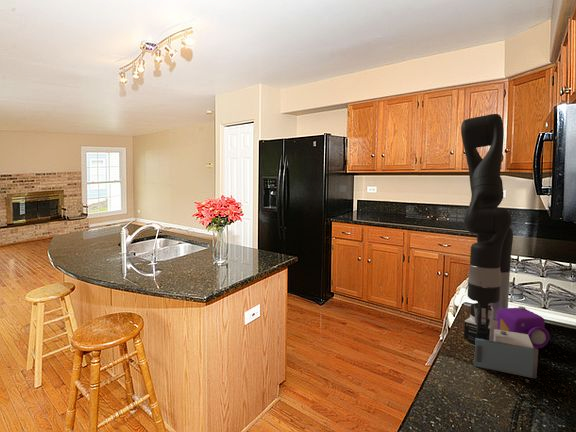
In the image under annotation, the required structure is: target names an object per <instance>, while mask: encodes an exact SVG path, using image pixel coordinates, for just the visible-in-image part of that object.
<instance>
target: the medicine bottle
mask: <svg viewBox="0 0 576 432" xmlns="http://www.w3.org/2000/svg"><path fill="white" fill-rule="evenodd" d="M477 303H478V302H475V304H477ZM491 309H492V314H491V316H490V325H489V327H488V333H486V340H490V341H493V340H494V329H497V330H498V321H497V320H496V319H493V310H494V309H493V308H492V307H491ZM469 310H470V312H469V313H470V315H469V317H468V318H466V319H465V320H464V325H463V328H464V329H463V343H464V344H467V345H470V346H473V347H475V338H476V337H477V330H476V325H477V324H476V323H475V311H474V303H471V305H470V309H469Z"/></svg>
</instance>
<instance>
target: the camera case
mask: <svg viewBox="0 0 576 432" xmlns="http://www.w3.org/2000/svg"><path fill="white" fill-rule="evenodd" d="M493 341H496V342H501V343H507V344H513V345H518V346H524V347H530V348H534V347H533V345H532V343H531V341H530V338H529V336H528V334H522V333H516V332H510V331H503V330H497V329H494V340H493Z"/></svg>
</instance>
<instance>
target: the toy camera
mask: <svg viewBox="0 0 576 432" xmlns="http://www.w3.org/2000/svg"><path fill="white" fill-rule="evenodd" d="M496 321H498V330H503V331H510V332H516V333H522V334H528V336H529V338H530V341H531V343H532V345H533V348H536V349H538V350H539V349H542V348H544V347H545V346H546V345H548V343H549V340H550V332H549V331H548V329H547V328H545V324H546V322H545V319H544V317H542V316H541V315H539V314H537V313H534V311H533V312H532V311H531V310H529V309H526V307H524V306H523V305H522V306H521V305H519V306H518V307H508V308H502V309H498V311H497V320H496Z"/></svg>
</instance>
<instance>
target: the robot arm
mask: <svg viewBox="0 0 576 432" xmlns="http://www.w3.org/2000/svg"><path fill="white" fill-rule="evenodd" d="M460 126H461V127H460V134H461V135H460V136H461V140H462V144H463V149H464V154H465V158H466V162H467V169H468V175H469V186H470V192H471V198H470V202H469V206H468V208H467V210H466V212H465V216H464V222H463V224H464V227H465V230H467V232H469V233H471V234H476V242H474V243H472V245H470V254H469V255H470V257H469V258H470V259H469V268H468V274H467V275H468V276H467V279H468V280H467V297H468V298H469V299H470V300H471V301H475V303H477V304H475V303H473V304H474V311H475V323H476V324H477V325H476V330H477V337H476V338H478V339H484V340H486V333H488V327H489V325H490V316H491V314H492V309H491V307H492V308H493V309H494V310H493V320H496V321H497V311H498V309H502V308H509V293H510V277H511V276H510V274H511V273H510V272H511V260H512V250H513V241H514V233H513V228H512V227H511V224H512V216H511V213H510V211H509V210H508V209H506V208H505V207H504V208H503V207H499V206H500V205H501V203H502V201H503V199H504V185H503V184H504V183H503V179H502V177H501V167H502V160H503V150H504V139H505V138H504V135H505V133H504V121H503V119H502V117H501V115H500V114H498V113H490V114H486V115H480V116H476V117H470V118H467V119H464V120H463V121H462V122H461V125H460ZM484 147H489V149H488V151H487V152H486V154H485V155H484V157H482V156H481V154H480V153H479V151H478V149H477V148H484Z"/></svg>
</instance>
